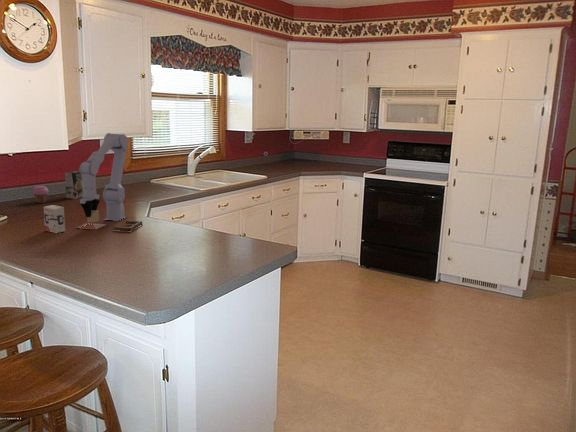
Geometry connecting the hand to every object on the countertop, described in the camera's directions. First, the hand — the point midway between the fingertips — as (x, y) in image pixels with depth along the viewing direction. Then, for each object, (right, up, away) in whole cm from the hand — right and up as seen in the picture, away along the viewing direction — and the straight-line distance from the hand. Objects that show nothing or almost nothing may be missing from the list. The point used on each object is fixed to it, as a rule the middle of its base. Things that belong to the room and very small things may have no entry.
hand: (90, 215), depth 227 cm
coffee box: (-40, +12, +72) cm, 83 cm away
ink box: (-12, -8, -9) cm, 17 cm away
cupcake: (-51, +8, +52) cm, 73 cm away
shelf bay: (+16, -6, +3) cm, 18 cm away
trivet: (0, -6, +1) cm, 6 cm away
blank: (+1, -3, 0) cm, 3 cm away
